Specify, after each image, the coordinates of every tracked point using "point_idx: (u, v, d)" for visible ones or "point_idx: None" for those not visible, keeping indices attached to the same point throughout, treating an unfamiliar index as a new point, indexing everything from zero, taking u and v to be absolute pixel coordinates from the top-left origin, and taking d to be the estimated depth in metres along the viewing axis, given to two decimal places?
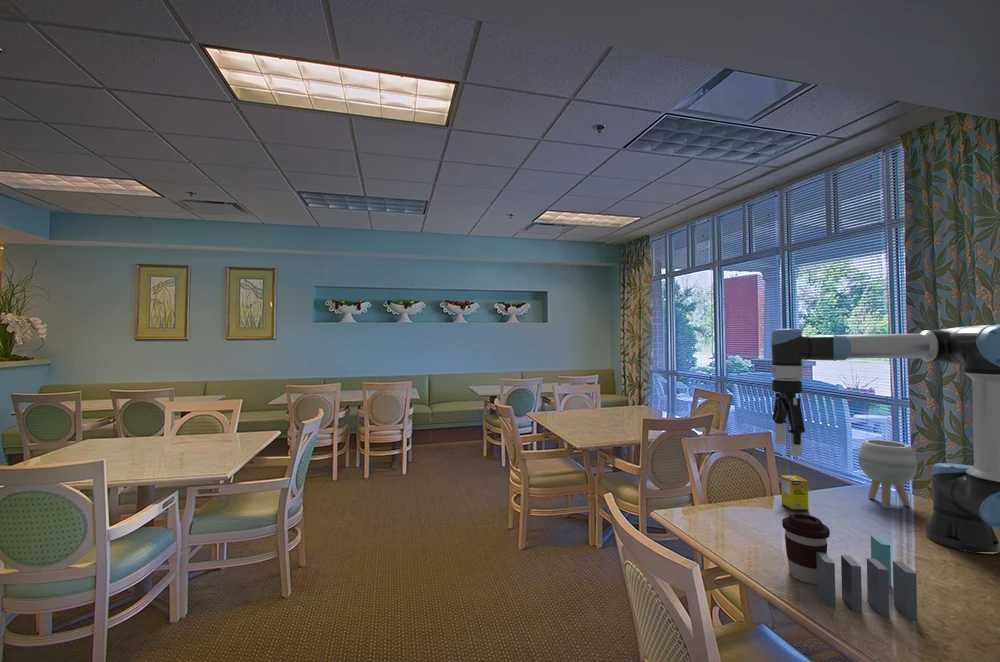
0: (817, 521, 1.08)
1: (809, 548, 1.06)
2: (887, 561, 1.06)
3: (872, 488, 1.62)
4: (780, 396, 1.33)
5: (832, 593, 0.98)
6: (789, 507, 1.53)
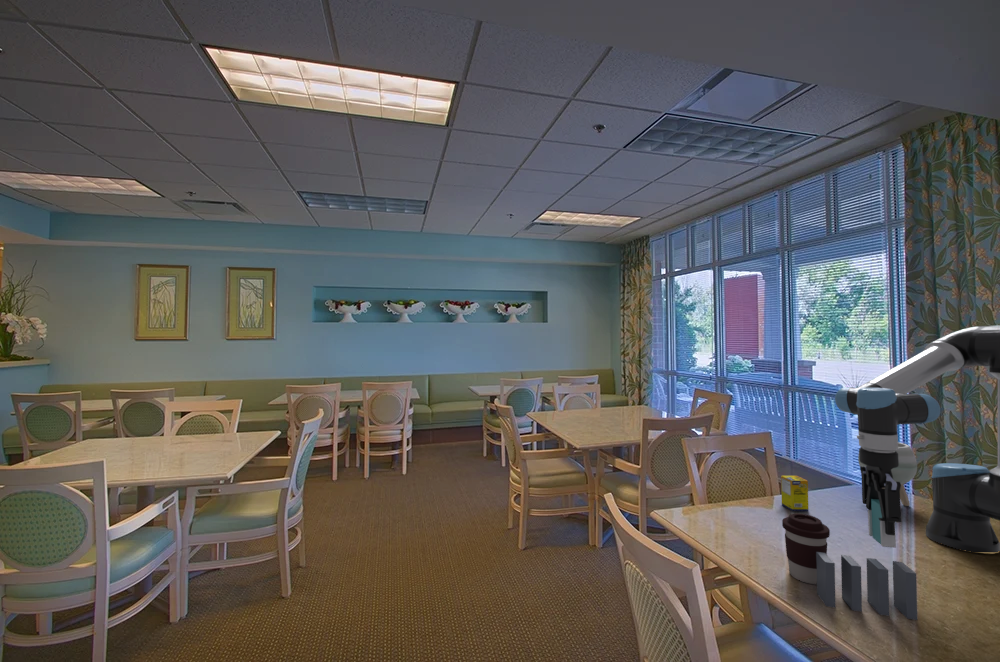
0: (817, 521, 1.08)
1: (809, 548, 1.06)
2: None
3: None
4: (868, 466, 1.12)
5: (832, 593, 0.98)
6: (789, 507, 1.53)
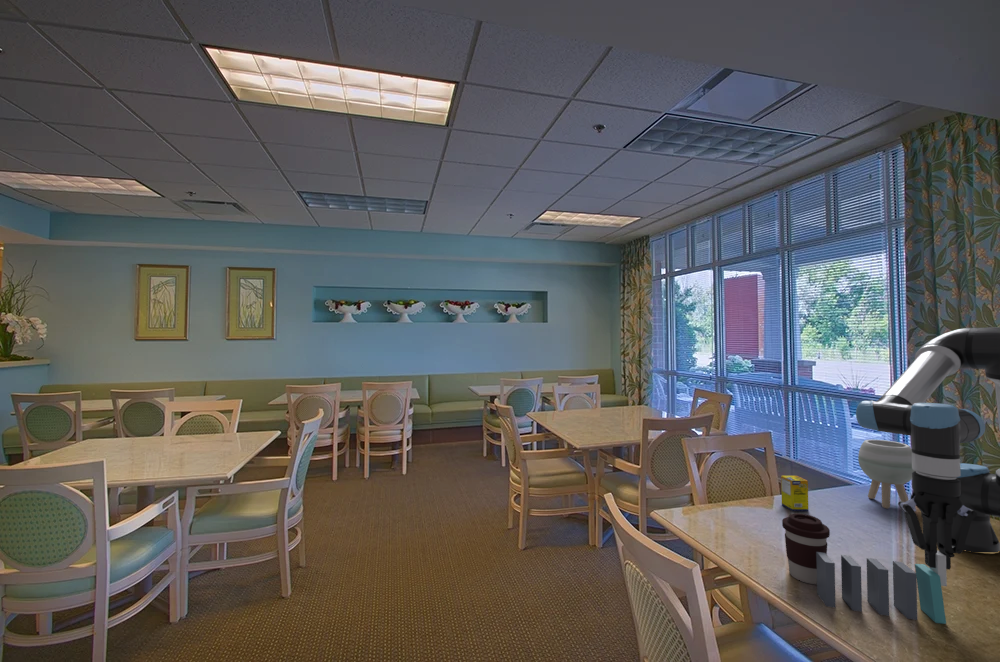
0: (817, 521, 1.08)
1: (809, 548, 1.06)
2: (938, 595, 0.92)
3: (872, 488, 1.62)
4: None
5: (832, 593, 0.98)
6: (789, 507, 1.53)
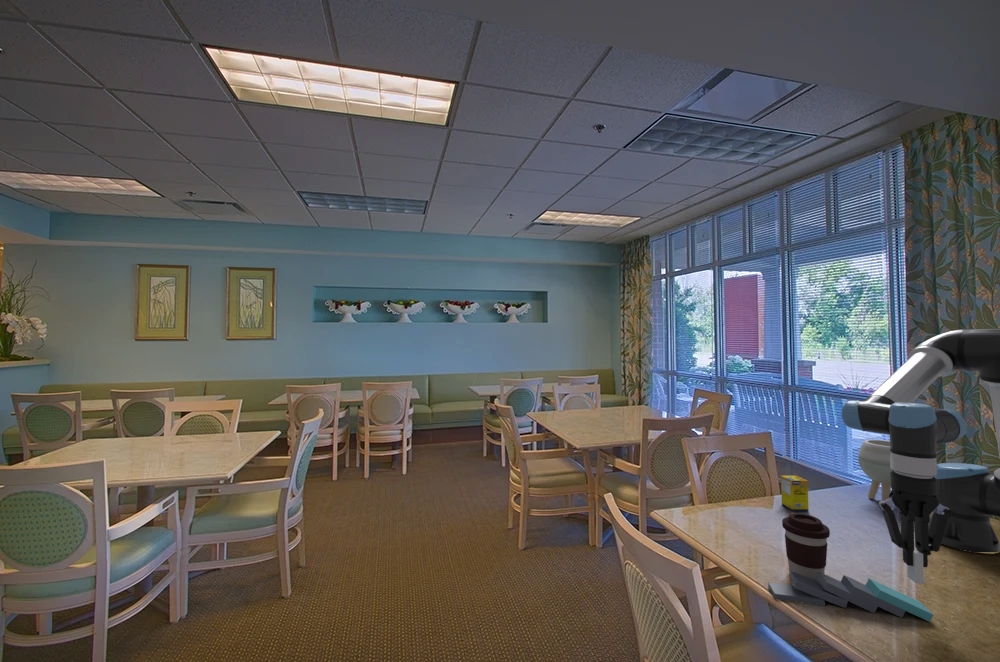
0: (817, 521, 1.08)
1: (809, 548, 1.06)
2: (900, 602, 0.94)
3: (872, 488, 1.62)
4: None
5: (808, 600, 0.99)
6: (789, 507, 1.53)
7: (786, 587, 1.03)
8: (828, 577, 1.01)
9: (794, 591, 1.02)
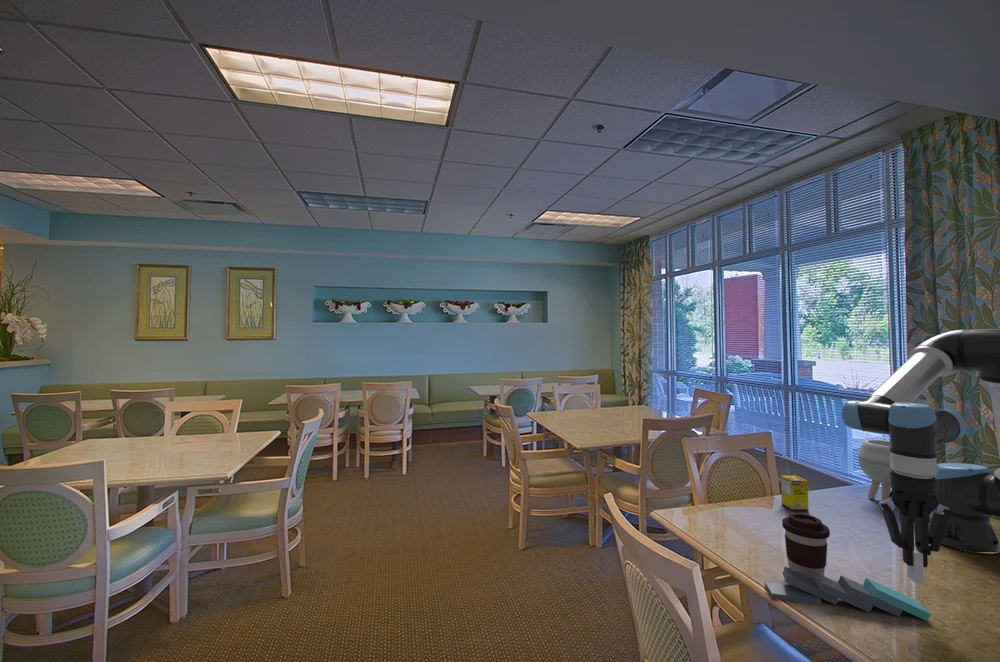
0: (817, 521, 1.08)
1: (809, 548, 1.06)
2: (897, 601, 0.94)
3: (872, 488, 1.62)
4: None
5: (805, 600, 0.99)
6: (789, 507, 1.53)
7: (783, 586, 1.04)
8: (823, 577, 1.01)
9: (791, 590, 1.02)
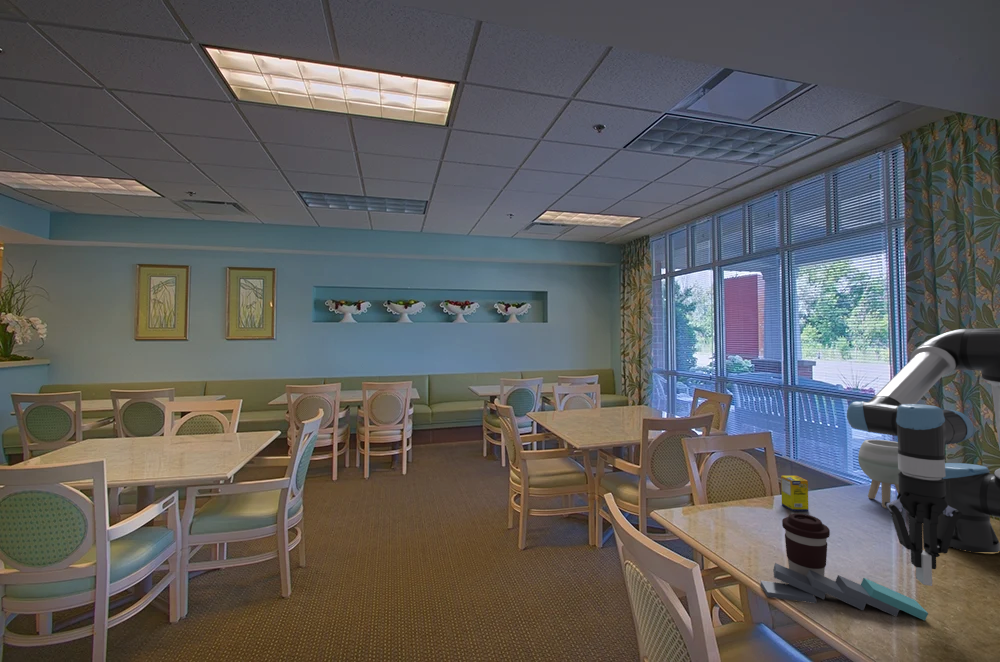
0: (817, 521, 1.08)
1: (809, 548, 1.06)
2: (894, 601, 0.94)
3: (872, 488, 1.62)
4: None
5: (800, 598, 1.00)
6: (789, 507, 1.53)
7: (778, 585, 1.04)
8: (818, 575, 1.03)
9: (786, 589, 1.03)
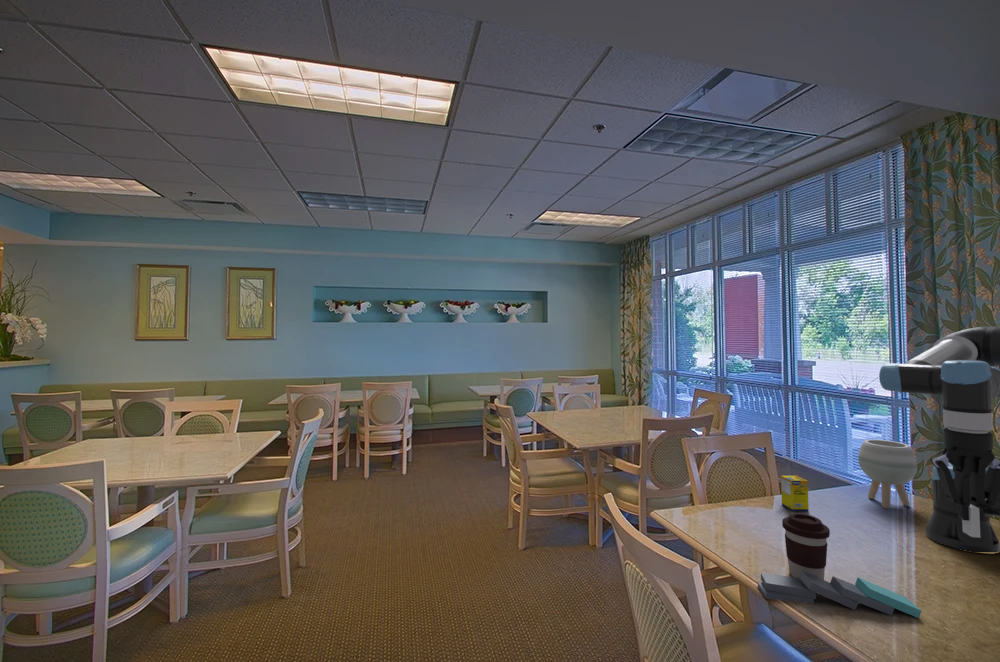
0: (817, 521, 1.08)
1: (809, 548, 1.06)
2: (889, 600, 0.95)
3: (872, 488, 1.62)
4: None
5: (798, 599, 1.00)
6: (789, 507, 1.53)
7: None
8: (811, 576, 1.02)
9: None
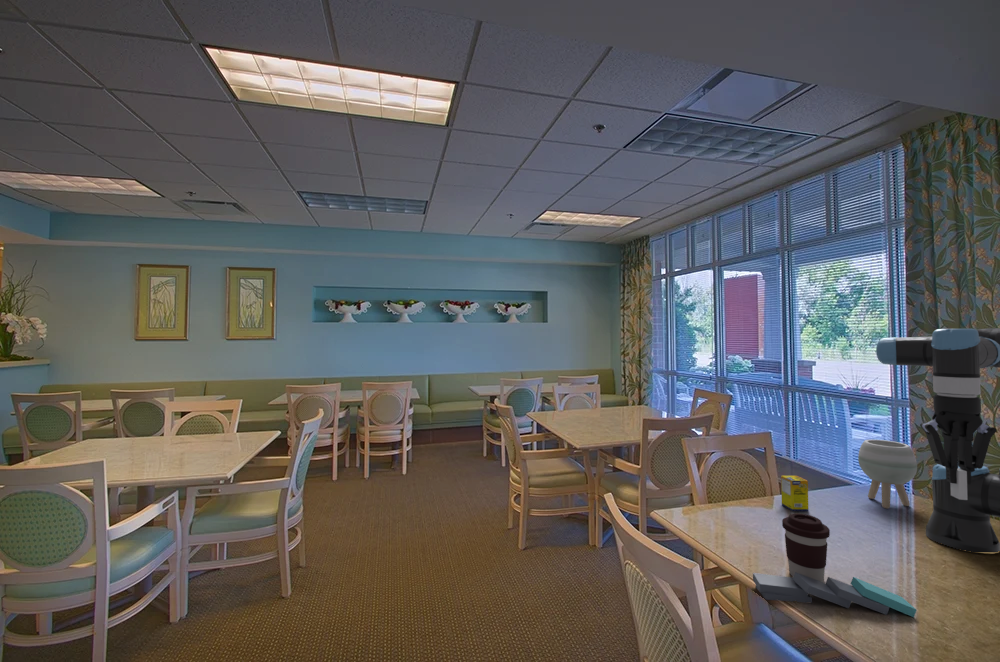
0: (817, 521, 1.08)
1: (809, 548, 1.06)
2: (885, 599, 0.95)
3: (872, 488, 1.62)
4: None
5: (797, 598, 1.00)
6: (789, 507, 1.53)
7: None
8: (805, 577, 1.01)
9: None
